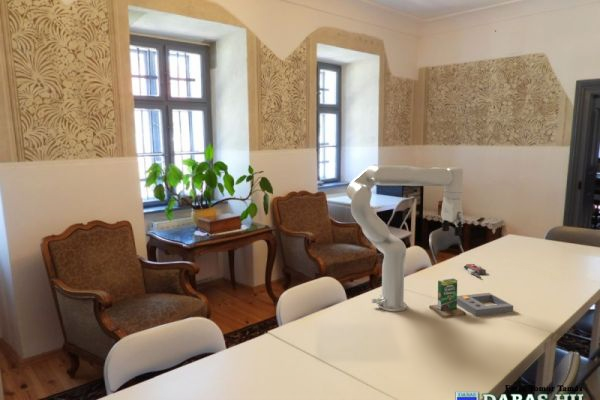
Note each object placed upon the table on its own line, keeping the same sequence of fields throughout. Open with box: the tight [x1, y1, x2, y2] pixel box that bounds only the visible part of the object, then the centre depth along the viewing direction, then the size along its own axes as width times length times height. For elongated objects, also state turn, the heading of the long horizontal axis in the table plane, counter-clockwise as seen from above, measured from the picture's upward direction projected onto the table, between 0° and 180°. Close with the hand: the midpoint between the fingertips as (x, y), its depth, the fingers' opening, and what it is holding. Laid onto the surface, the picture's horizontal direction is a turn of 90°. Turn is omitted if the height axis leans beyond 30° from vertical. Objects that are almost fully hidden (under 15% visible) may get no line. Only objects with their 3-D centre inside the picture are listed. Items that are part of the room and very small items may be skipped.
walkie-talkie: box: [463, 263, 487, 279], centre depth 234 cm, size 9×4×20 cm
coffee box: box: [437, 278, 458, 311], centre depth 182 cm, size 8×3×13 cm, turn 103°
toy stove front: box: [457, 292, 514, 317], centre depth 187 cm, size 18×16×4 cm
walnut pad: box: [428, 304, 467, 319], centre depth 183 cm, size 11×11×1 cm
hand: (451, 233), depth 189 cm, fingers open, 9 cm apart
